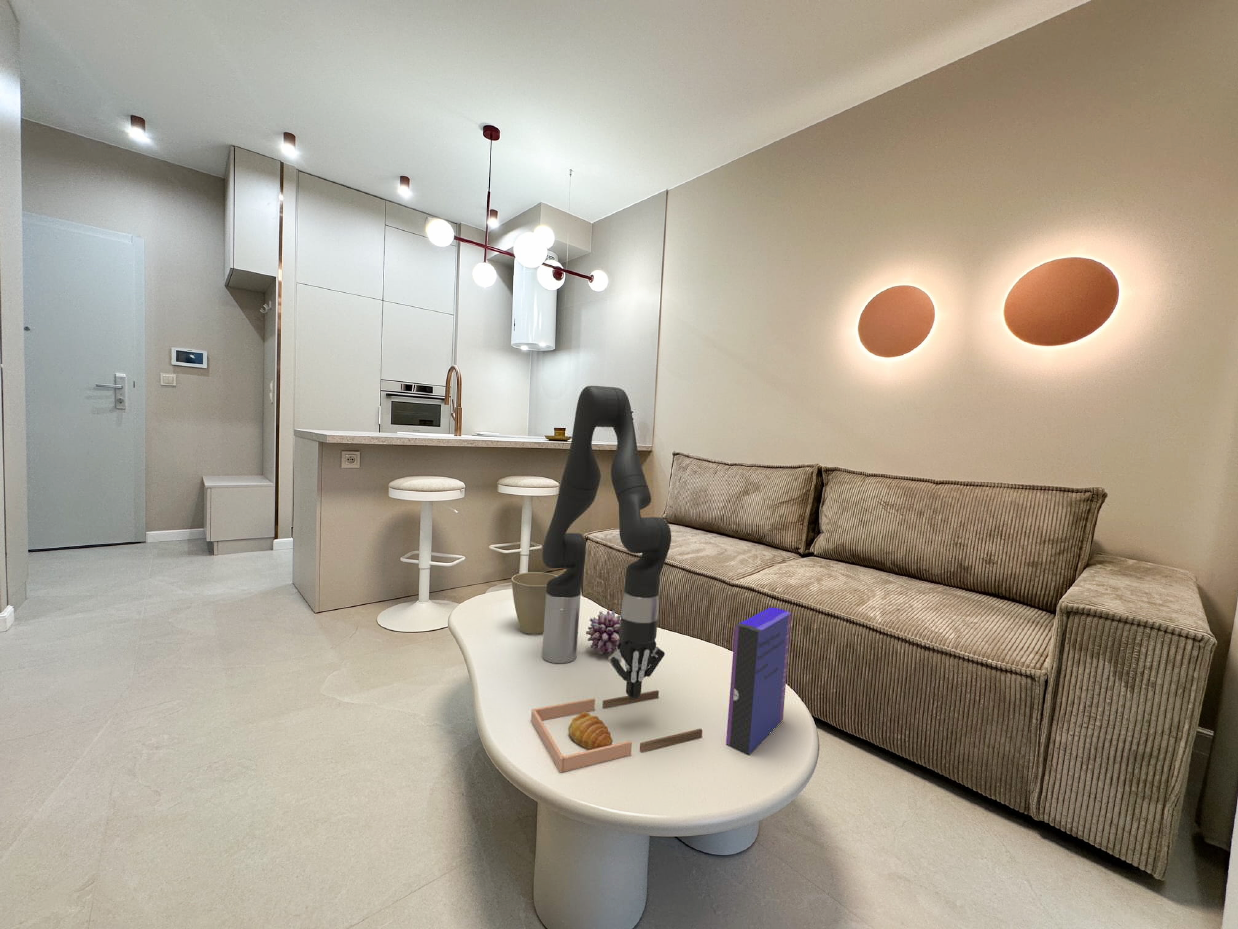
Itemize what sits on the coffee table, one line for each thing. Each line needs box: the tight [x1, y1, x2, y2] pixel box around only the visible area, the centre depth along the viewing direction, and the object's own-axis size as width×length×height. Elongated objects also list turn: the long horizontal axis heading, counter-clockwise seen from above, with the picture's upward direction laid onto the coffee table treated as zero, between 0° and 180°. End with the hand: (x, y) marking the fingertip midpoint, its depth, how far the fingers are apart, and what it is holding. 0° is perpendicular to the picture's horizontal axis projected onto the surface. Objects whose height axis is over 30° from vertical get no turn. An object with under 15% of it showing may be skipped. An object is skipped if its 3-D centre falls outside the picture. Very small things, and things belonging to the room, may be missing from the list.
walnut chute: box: [602, 689, 703, 753], centre depth 103 cm, size 17×14×2 cm
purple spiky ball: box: [585, 610, 621, 655], centre depth 136 cm, size 12×12×12 cm
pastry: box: [567, 712, 614, 751], centre depth 95 cm, size 9×7×4 cm
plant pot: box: [511, 571, 559, 635], centre depth 149 cm, size 15×15×16 cm
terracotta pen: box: [530, 697, 633, 774], centre depth 95 cm, size 17×14×2 cm
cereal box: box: [725, 606, 792, 756], centre depth 101 cm, size 17×5×24 cm, turn 141°
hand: (632, 697), depth 101 cm, fingers closed
